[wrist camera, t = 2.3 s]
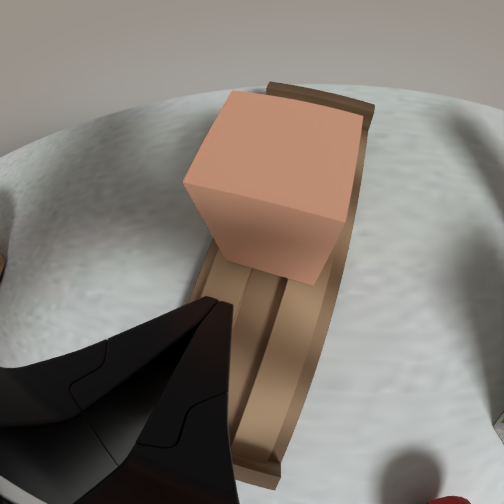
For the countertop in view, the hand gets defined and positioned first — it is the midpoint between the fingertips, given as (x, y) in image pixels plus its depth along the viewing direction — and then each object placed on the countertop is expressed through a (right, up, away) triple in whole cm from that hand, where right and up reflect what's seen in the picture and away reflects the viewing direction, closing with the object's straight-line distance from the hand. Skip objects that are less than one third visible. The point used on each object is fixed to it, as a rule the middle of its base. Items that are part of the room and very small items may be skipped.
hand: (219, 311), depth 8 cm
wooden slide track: (+3, +1, +12) cm, 13 cm away
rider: (+3, +2, +11) cm, 12 cm away
